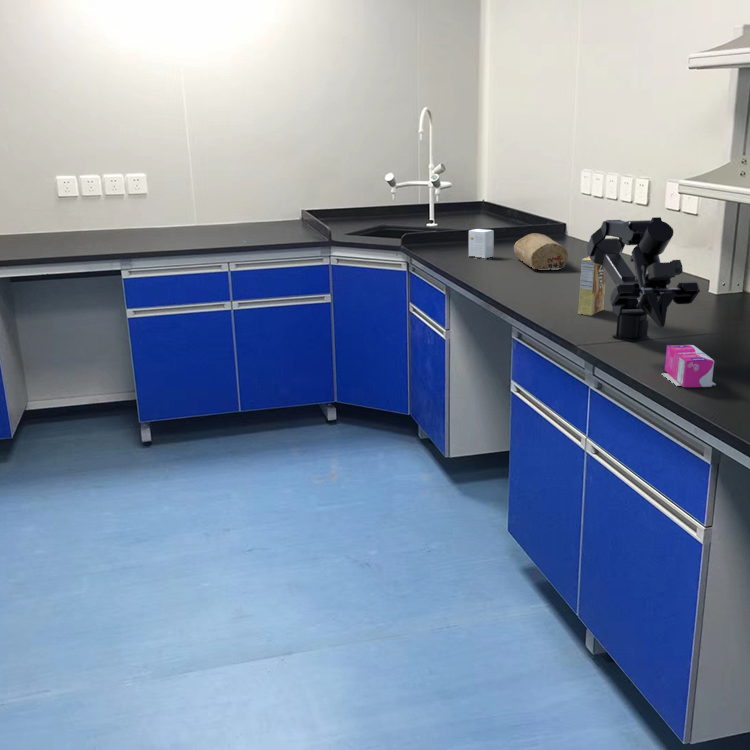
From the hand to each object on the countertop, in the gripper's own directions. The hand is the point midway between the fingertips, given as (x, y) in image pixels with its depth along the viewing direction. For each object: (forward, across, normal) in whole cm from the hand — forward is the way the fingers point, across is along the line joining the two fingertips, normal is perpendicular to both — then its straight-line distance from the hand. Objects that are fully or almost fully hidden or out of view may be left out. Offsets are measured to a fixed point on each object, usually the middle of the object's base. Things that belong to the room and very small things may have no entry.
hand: (662, 326), depth 183 cm
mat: (+16, 0, -6) cm, 17 cm away
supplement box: (+10, 0, -4) cm, 10 cm away
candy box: (-26, -1, +39) cm, 47 cm away
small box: (-91, -15, +106) cm, 141 cm away
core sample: (-78, +4, +92) cm, 121 cm away
